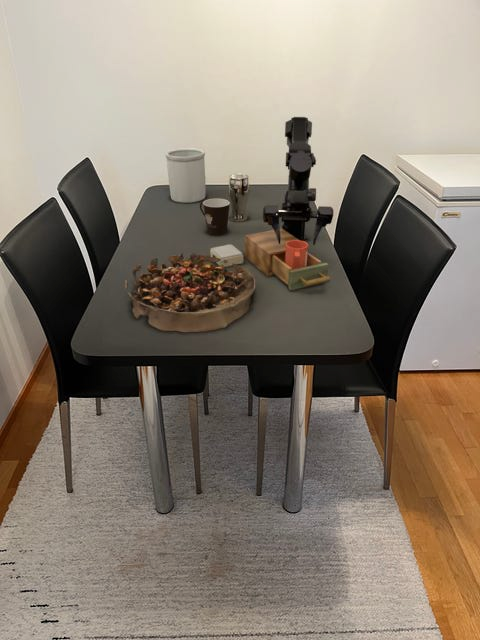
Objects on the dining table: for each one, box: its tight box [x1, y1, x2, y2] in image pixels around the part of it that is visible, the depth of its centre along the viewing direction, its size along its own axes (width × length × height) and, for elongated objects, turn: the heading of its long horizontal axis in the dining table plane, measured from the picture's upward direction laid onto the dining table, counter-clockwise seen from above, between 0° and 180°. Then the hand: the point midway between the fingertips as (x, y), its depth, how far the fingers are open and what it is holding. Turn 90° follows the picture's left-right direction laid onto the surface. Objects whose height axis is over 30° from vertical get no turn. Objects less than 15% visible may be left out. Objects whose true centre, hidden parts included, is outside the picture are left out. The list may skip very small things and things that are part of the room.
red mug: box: [285, 240, 309, 270], centre depth 134 cm, size 8×6×8 cm
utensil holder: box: [165, 147, 207, 204], centre depth 193 cm, size 15×15×18 cm
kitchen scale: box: [209, 243, 244, 268], centre depth 147 cm, size 7×8×3 cm
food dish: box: [124, 252, 257, 333], centre depth 128 cm, size 35×33×8 cm
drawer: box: [270, 252, 331, 291], centre depth 134 cm, size 18×11×5 cm, turn 26°
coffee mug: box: [199, 198, 231, 237], centre depth 165 cm, size 12×9×10 cm
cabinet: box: [244, 228, 298, 277], centre depth 145 cm, size 14×12×7 cm
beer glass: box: [228, 172, 250, 222], centre depth 174 cm, size 7×7×15 cm
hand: (296, 244), depth 135 cm, fingers open, 9 cm apart
